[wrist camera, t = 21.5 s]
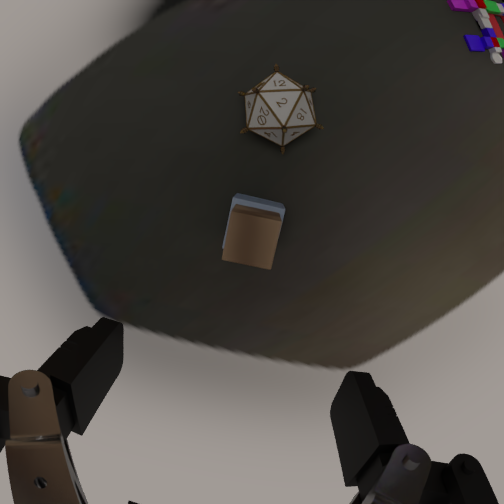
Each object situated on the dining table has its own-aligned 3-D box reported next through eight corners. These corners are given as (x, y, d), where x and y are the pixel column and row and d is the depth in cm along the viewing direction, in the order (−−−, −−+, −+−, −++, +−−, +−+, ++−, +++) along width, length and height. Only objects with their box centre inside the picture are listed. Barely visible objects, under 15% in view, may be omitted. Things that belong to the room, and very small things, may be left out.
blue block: (282, 203, 36) (285, 209, 32) (271, 247, 38) (272, 259, 33) (237, 192, 36) (233, 197, 31) (227, 237, 38) (222, 248, 33)
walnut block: (279, 212, 32) (282, 221, 27) (269, 254, 33) (270, 269, 28) (236, 203, 32) (231, 211, 27) (227, 245, 33) (221, 259, 28)
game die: (284, 132, 37) (293, 182, 31) (225, 102, 34) (220, 147, 28) (327, 81, 31) (350, 121, 25) (265, 43, 28) (272, 72, 22)
